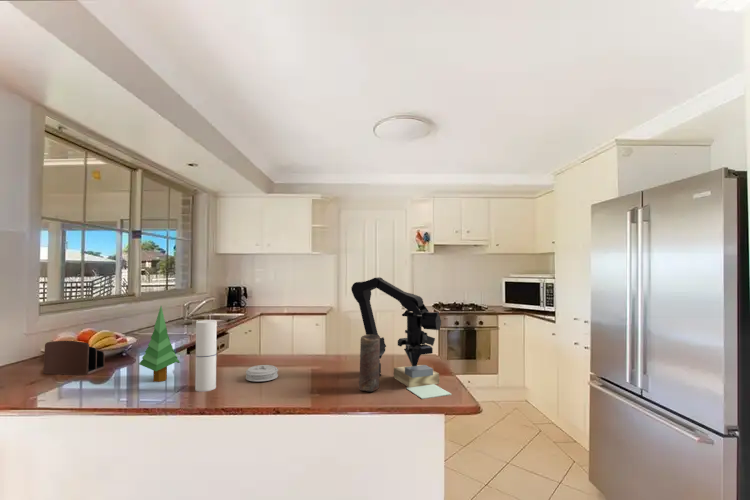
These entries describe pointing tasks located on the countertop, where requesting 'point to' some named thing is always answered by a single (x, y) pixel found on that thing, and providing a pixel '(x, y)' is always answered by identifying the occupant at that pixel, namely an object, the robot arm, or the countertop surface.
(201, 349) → the cylindrical container
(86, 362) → the letter holder
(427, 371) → the tile
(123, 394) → the countertop surface
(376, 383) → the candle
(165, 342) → the decorative tree
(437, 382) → the board
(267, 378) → the lid
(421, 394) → the mat
